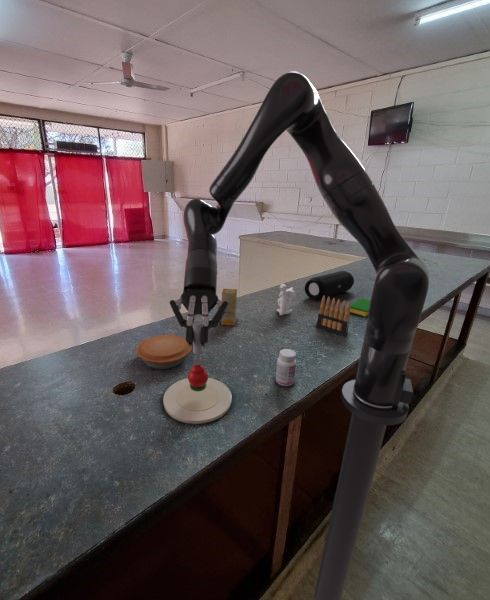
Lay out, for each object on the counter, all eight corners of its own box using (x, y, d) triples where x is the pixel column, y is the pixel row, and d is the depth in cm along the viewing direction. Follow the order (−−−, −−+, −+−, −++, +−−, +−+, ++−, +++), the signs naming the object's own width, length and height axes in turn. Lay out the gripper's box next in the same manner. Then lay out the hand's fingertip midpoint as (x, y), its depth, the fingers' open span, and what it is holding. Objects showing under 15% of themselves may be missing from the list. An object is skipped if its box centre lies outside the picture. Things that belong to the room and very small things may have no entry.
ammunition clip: (347, 334, 108) (353, 301, 104) (345, 335, 107) (351, 302, 103) (318, 324, 115) (322, 293, 111) (316, 326, 113) (320, 295, 109)
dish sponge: (347, 311, 127) (348, 306, 126) (361, 303, 137) (361, 297, 136) (365, 316, 123) (366, 311, 122) (378, 307, 132) (379, 302, 131)
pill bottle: (290, 388, 79) (294, 359, 76) (272, 382, 81) (275, 354, 78) (296, 379, 83) (299, 351, 80) (279, 373, 85) (281, 346, 82)
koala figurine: (282, 318, 120) (285, 288, 115) (269, 312, 125) (272, 283, 120) (297, 313, 125) (300, 284, 120) (284, 307, 130) (287, 279, 125)
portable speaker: (319, 303, 135) (322, 281, 131) (301, 297, 142) (304, 275, 138) (353, 293, 149) (357, 272, 145) (335, 287, 156) (338, 267, 153)
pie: (163, 381, 81) (162, 364, 79) (125, 360, 89) (124, 344, 88) (202, 356, 92) (202, 341, 90) (166, 340, 101) (165, 326, 99)
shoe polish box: (235, 319, 117) (237, 289, 113) (235, 325, 112) (236, 294, 108) (222, 319, 117) (223, 288, 113) (221, 324, 113) (221, 293, 109)
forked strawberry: (207, 379, 75) (207, 318, 70) (208, 391, 71) (208, 327, 65) (188, 380, 75) (186, 319, 69) (188, 393, 71) (186, 328, 65)
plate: (241, 389, 78) (241, 386, 78) (214, 433, 65) (214, 429, 64) (185, 373, 84) (185, 370, 84) (149, 410, 70) (149, 407, 70)
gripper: (169, 264, 70) (161, 339, 63) (230, 265, 70) (229, 340, 63) (173, 280, 77) (167, 349, 70) (230, 281, 77) (229, 350, 70)
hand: (196, 344), depth 67 cm, fingers closed on forked strawberry
